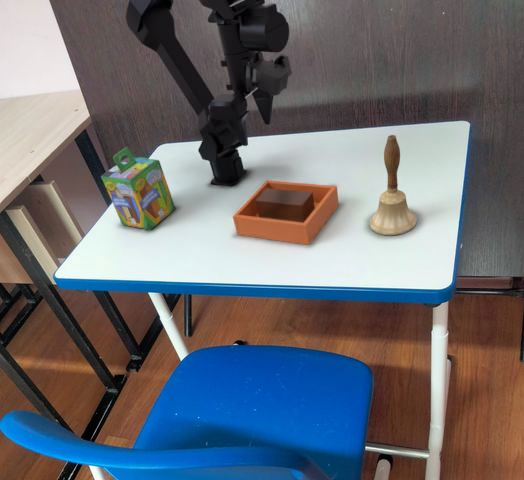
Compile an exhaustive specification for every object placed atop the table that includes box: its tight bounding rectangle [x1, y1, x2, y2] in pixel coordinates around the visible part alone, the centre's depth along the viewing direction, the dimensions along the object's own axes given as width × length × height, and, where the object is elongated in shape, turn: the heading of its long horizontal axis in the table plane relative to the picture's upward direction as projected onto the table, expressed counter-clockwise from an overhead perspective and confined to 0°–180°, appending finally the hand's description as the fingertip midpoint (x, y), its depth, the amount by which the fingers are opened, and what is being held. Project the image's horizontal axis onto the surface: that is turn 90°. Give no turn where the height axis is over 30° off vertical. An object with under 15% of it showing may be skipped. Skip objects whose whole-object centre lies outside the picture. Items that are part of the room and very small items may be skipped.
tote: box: [232, 180, 340, 246], centre depth 101 cm, size 16×14×4 cm
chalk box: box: [100, 146, 177, 231], centre depth 110 cm, size 9×9×15 cm
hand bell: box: [369, 134, 418, 236], centre depth 90 cm, size 8×8×16 cm
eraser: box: [255, 188, 315, 223], centre depth 101 cm, size 10×4×4 cm, turn 61°
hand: (256, 134), depth 105 cm, fingers open, 9 cm apart
